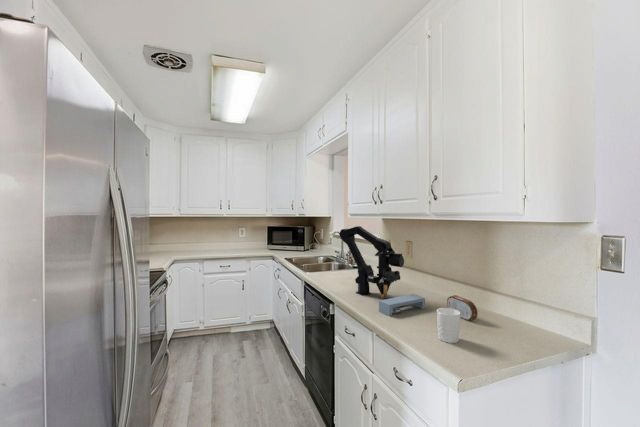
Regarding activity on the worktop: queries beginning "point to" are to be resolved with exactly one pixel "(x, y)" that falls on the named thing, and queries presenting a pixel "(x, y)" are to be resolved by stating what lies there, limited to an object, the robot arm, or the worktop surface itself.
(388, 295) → the hook tool
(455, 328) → the white cup
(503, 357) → the worktop surface
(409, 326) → the worktop surface
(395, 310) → the puck
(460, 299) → the tin
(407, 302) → the bench
